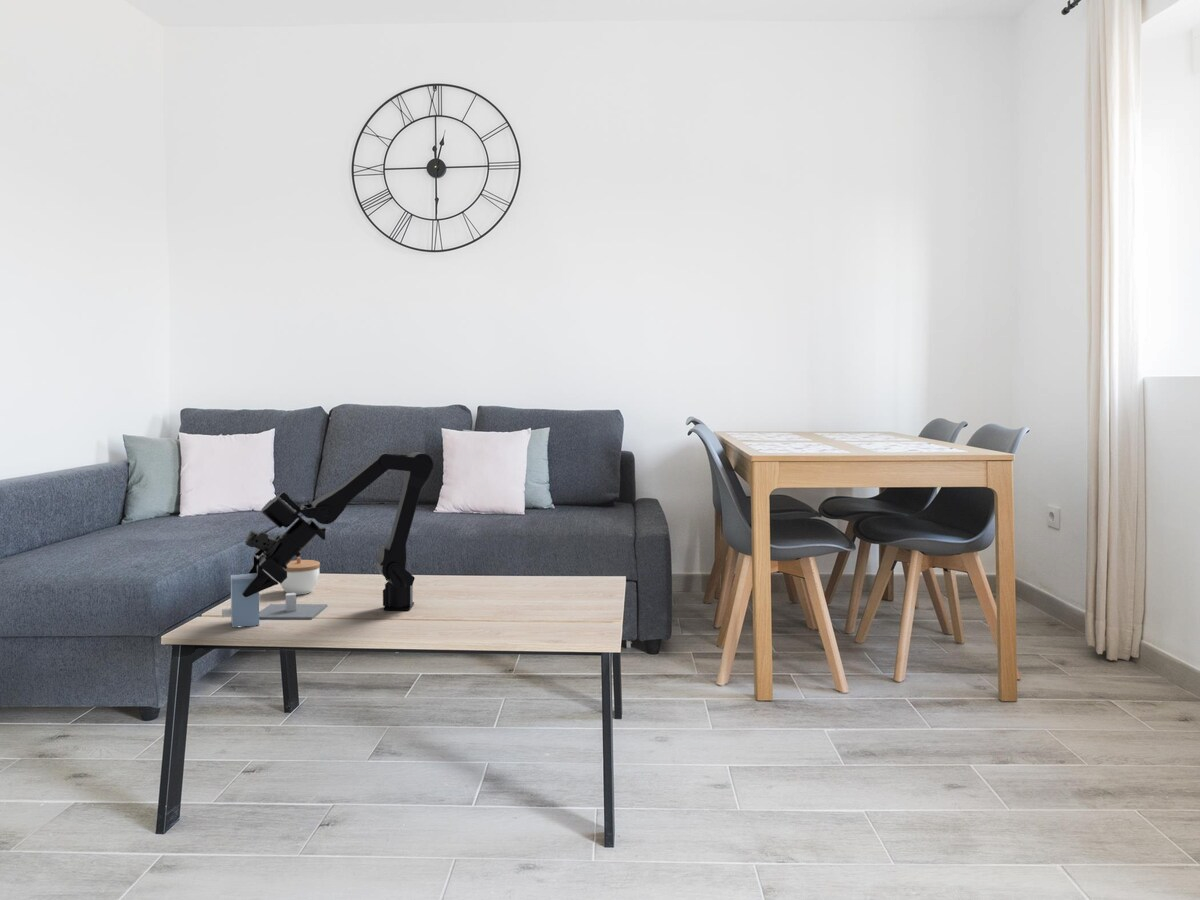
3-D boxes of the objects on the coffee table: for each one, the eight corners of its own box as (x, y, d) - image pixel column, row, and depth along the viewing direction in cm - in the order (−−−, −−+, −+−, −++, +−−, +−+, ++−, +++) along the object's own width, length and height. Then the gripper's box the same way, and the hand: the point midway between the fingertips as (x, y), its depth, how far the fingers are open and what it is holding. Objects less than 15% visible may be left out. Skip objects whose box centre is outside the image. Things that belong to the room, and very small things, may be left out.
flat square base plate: (327, 606, 201) (327, 588, 201) (312, 619, 189) (312, 600, 189) (270, 606, 201) (270, 588, 200) (252, 618, 189) (251, 600, 188)
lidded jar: (306, 598, 209) (305, 562, 209) (269, 595, 212) (268, 560, 211) (327, 588, 220) (327, 554, 219) (292, 586, 222) (292, 552, 222)
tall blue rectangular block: (257, 619, 189) (256, 573, 188) (259, 625, 184) (258, 577, 183) (221, 622, 185) (221, 575, 184) (222, 629, 180) (221, 580, 179)
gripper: (264, 512, 194) (213, 561, 189) (271, 523, 177) (216, 577, 173) (298, 543, 198) (250, 591, 194) (308, 556, 181) (256, 609, 177)
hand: (242, 591), depth 184 cm, fingers open, 9 cm apart
